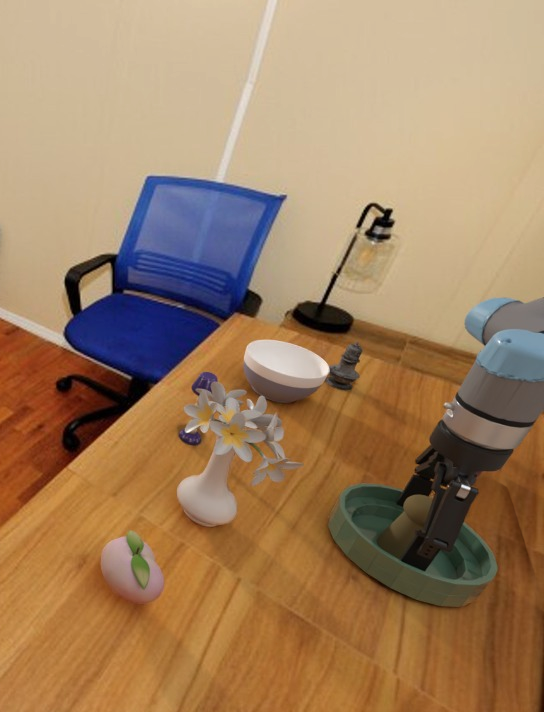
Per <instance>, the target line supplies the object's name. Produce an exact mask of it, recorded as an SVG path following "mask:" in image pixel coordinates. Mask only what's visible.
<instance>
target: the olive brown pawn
mask: <svg viewBox="0 0 544 712" xmlns="http://www.w3.org/2000/svg"><path fill="white" fill-rule="evenodd" d="M432 500H433V497H431V496H429V497H428V496H425V495H412V496H410V497H408V498H407V499H406V500H405V502H404V506H403V508H404V512H403V513H402V514H401V515H400V516H399V517H398V518H397V519H396V520H395V521H394V522H393V523H392V524H391V525H390V526H389V527H388V528H387V529H386V530H385V531H384V532H383V533H382V534H381V535H380V536H379V537H378V538H377V544H378V546H379V547H380V548H381V549H382V550H384V551H385V552H387V553H389V554H390V555H392V556H394V557H395V558H397V559H399V560H400V558H401V556H402V555H403V553H404V552H405V550H406V549H407V547H408V546H409V544H410V543H411V541H412V540H413V538H414V537H415V535H416V534H415V530H417V531H419V529H420V530H422V531H423V529H424V525H425V522H426V519H427V516H428V513H429V510H430V506H431V503H432Z"/></svg>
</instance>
